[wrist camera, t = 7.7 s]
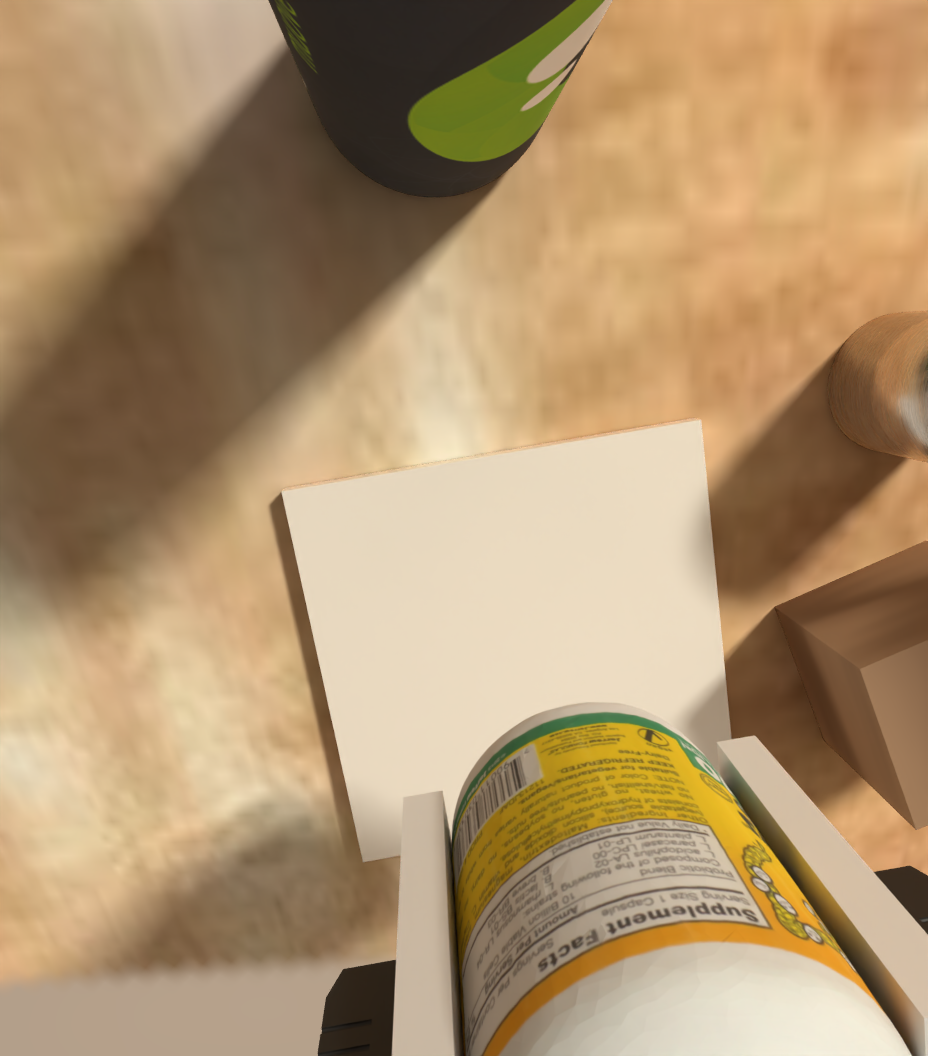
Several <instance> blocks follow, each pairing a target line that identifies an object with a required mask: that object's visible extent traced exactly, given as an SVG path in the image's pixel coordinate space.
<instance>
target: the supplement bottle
mask: <svg viewBox="0 0 928 1056" xmlns="http://www.w3.org/2000/svg"><path fill="white" fill-rule="evenodd" d="M452 867H453V877H454V894H455V912H456V927H457V944H458V958H459V974H460V999H461V1016H462V1030H463V1051H464V1056H912V1055H911V1053H910V1051H909V1050H908V1048H907V1046H906V1044H905V1043H904V1041H903V1039H902V1037H901V1036H900V1034H899V1033H898V1031H897V1030H896V1028H895V1027H894V1025H893V1024H892V1022H891V1021H890V1019H889V1018H888V1016H887V1015H886V1014H885V1012H884V1011H883V1009H882V1008H881V1006H880V1005H879V1004H878V1002H877V1001H876V999H875V998H874V996H873V995H872V993H871V992H870V990H869V989H868V987H867V986H866V984H865V983H864V981H863V980H862V978H861V977H860V975H859V974H858V973H857V971H856V970H855V968H854V967H853V965H852V964H851V962H850V961H849V960H848V958H847V957H846V955H845V954H844V952H843V951H842V949H841V948H840V947H839V945H838V944H837V942H836V941H835V939H834V938H833V936H832V935H831V933H830V932H829V931H828V929H827V928H826V926H825V925H824V924H823V922H822V921H821V919H820V918H819V917H818V915H817V914H816V912H815V911H814V909H813V908H812V906H811V905H810V904H809V902H808V901H807V899H806V898H805V896H804V895H803V893H802V892H801V891H800V889H799V888H798V886H797V885H796V884H795V882H794V881H793V879H792V878H791V877H790V875H789V874H788V872H787V871H786V870H785V868H784V867H783V865H782V864H781V863H780V861H779V860H778V859H777V857H776V855H775V854H774V852H773V851H772V849H771V848H770V847H769V845H768V844H767V843H766V841H765V839H764V838H763V836H762V835H761V833H760V832H759V831H758V829H757V828H756V827H755V825H754V824H753V823H752V821H751V820H750V818H749V816H748V815H747V814H746V813H745V811H744V809H743V808H742V806H741V805H740V803H739V801H738V800H737V798H736V797H735V796H734V795H733V793H732V792H731V790H730V789H729V787H728V786H727V785H726V783H725V782H724V780H723V779H722V777H721V776H720V774H719V773H718V772H717V771H716V770H715V768H714V767H713V766H712V764H711V763H710V762H709V760H708V759H707V758H706V756H705V755H704V754H703V753H702V752H701V751H700V750H699V749H698V748H697V747H696V746H695V745H694V744H693V743H692V742H691V741H690V740H689V739H688V738H687V737H686V736H684V735H683V734H682V733H681V732H680V731H679V730H677V729H676V728H675V727H673V726H672V725H670V724H669V723H668V722H666V721H664V720H663V719H661V718H659V717H657V716H655V715H653V714H651V713H649V712H647V711H645V710H642V709H639V708H636V707H633V706H629V705H625V704H620V703H604V702H586V703H578V704H571V705H566V706H562V707H558V708H554V709H550V710H547V711H543V712H541V713H538V714H535V715H533V716H531V717H529V718H527V719H525V720H524V721H522V722H521V723H519V724H517V725H516V726H514V727H513V728H512V729H510V730H509V731H507V732H506V733H505V734H503V735H502V736H501V737H500V738H498V739H497V740H496V741H495V742H494V743H493V744H492V745H491V746H490V747H489V748H488V749H487V750H486V751H485V752H484V754H483V755H482V756H481V757H480V758H479V760H478V761H477V762H476V764H475V765H474V767H473V768H472V770H471V771H470V773H469V775H468V777H467V778H466V780H465V782H464V784H463V786H462V789H461V792H460V794H459V797H458V800H457V804H456V808H455V813H454V818H453V825H452Z"/></svg>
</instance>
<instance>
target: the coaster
mask: <svg viewBox="0 0 928 1056" xmlns="http://www.w3.org/2000/svg"><path fill="white" fill-rule="evenodd" d="M282 497H283V501H284V506H285V510H286V515H287V519H288V524H289V528H290V533H291V537H292V542H293V547H294V551H295V556H296V560H297V565H298V569H299V574H300V578H301V583H302V587H303V592H304V597H305V601H306V606H307V610H308V615H309V619H310V624H311V628H312V633H313V637H314V642H315V647H316V651H317V656H318V660H319V665H320V669H321V674H322V678H323V683H324V687H325V692H326V697H327V701H328V706H329V710H330V715H331V719H332V724H333V728H334V733H335V737H336V742H337V746H338V751H339V756H340V760H341V765H342V769H343V774H344V778H345V783H346V787H347V792H348V796H349V801H350V806H351V810H352V815H353V819H354V824H355V828H356V833H357V837H358V842H359V846H360V851H361V856H362V860H363V862H368V861H373V860H379V859H384V858H390V857H395V856H401V840H402V817H403V797H408V796H413V795H419V794H425V793H430V792H436V791H443V797H444V802H445V807H446V813H447V818H448V823H449V828H450V834H451V839H452V825H453V818H454V813H455V808H456V804H457V800H458V797H459V794H460V792H461V789H462V786H463V784H464V782H465V780H466V778H467V777H468V775H469V773H470V771H471V770H472V768H473V767H474V765H475V764H476V762H477V761H478V760H479V758H480V757H481V756H482V755H483V754H484V752H485V751H486V750H487V749H488V748H489V747H490V746H491V745H492V744H493V743H494V742H495V741H496V740H497V739H498V738H500V737H501V736H502V735H503V734H505V733H506V732H507V731H509V730H510V729H512V728H513V727H514V726H516V725H517V724H519V723H521V722H522V721H524V720H525V719H527V718H529V717H531V716H533V715H535V714H538V713H541V712H543V711H547V710H550V709H554V708H558V707H562V706H566V705H571V704H578V703H586V702H604V703H620V704H625V705H629V706H633V707H636V708H639V709H642V710H645V711H647V712H649V713H651V714H653V715H655V716H657V717H659V718H661V719H663V720H664V721H666V722H668V723H669V724H670V725H672V726H673V727H675V728H676V729H677V730H679V731H680V732H681V733H682V734H683V735H684V736H686V737H687V738H688V739H689V740H690V741H691V742H692V743H693V744H694V745H695V746H696V747H697V748H698V749H699V750H700V751H701V752H702V753H703V754H704V755H705V756H706V758H707V759H708V760H709V762H710V763H711V764H712V766H713V767H714V768H715V770H716V771H717V772H718V773H719V774H720V772H719V762H718V753H717V743H716V742H720V741H726V740H731V739H732V738H731V728H730V717H729V707H728V696H727V686H726V675H725V665H724V654H723V644H722V633H721V623H720V612H719V602H718V591H717V581H716V570H715V560H714V549H713V539H712V528H711V518H710V507H709V497H708V486H707V476H706V465H705V455H704V444H703V434H702V423H701V420H700V419H696V418H691V419H685V420H679V421H673V422H667V423H661V424H656V425H650V426H644V427H638V428H632V429H626V430H620V431H615V432H609V433H603V434H597V435H591V436H585V437H580V438H574V439H568V440H562V441H556V442H550V443H545V444H539V445H533V446H527V447H521V448H515V449H509V450H504V451H498V452H492V453H486V454H480V455H474V456H469V457H463V458H457V459H451V460H445V461H439V462H434V463H428V464H422V465H416V466H410V467H404V468H398V469H393V470H387V471H381V472H375V473H369V474H363V475H358V476H352V477H346V478H340V479H334V480H328V481H323V482H317V483H311V484H305V485H299V486H293V487H287V488H284V489H283V490H282Z"/></svg>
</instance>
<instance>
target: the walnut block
mask: <svg viewBox="0 0 928 1056" xmlns="http://www.w3.org/2000/svg"><path fill="white" fill-rule="evenodd" d="M775 609H776V612H777V615H778V617H779V620H780V623H781V625H782V628H783V631H784V633H785V636H786V639H787V642H788V644H789V647H790V650H791V652H792V655H793V658H794V660H795V663H796V666H797V669H798V671H799V674H800V677H801V679H802V682H803V685H804V687H805V690H806V693H807V696H808V698H809V701H810V704H811V706H812V709H813V712H814V714H815V717H816V720H817V723H818V725H819V728H820V731H821V733H822V736H823V739H824V741H825V742H826V743H827V744H828V745H829V746H830V747H831V748H832V749H833V750H834V751H835V752H836V753H838V754H839V755H840V756H841V757H842V758H843V759H844V760H845V761H846V762H847V763H848V764H849V765H850V766H851V767H852V768H853V769H854V770H855V771H856V772H857V773H858V774H859V775H860V776H861V777H862V778H863V779H864V780H865V781H866V782H867V783H868V784H869V785H870V786H871V787H872V788H874V789H875V790H876V791H877V792H878V793H879V794H880V795H881V796H882V797H883V798H884V799H885V800H886V801H887V802H888V803H889V804H890V805H891V806H892V807H893V808H894V809H895V810H896V811H897V812H898V813H899V814H900V815H901V816H902V817H903V818H904V819H905V820H906V821H907V822H908V823H910V824H911V825H912V826H913V827H914V828H915V829H916V830H918V829H920V828H922V827H925V826H927V825H928V541H924V542H922V543H920V544H917V545H915V546H913V547H911V548H908V549H906V550H904V551H901V552H899V553H897V554H894V555H892V556H890V557H888V558H885V559H883V560H881V561H878V562H876V563H874V564H872V565H869V566H867V567H865V568H862V569H860V570H858V571H856V572H853V573H851V574H849V575H846V576H844V577H842V578H839V579H837V580H835V581H833V582H830V583H828V584H826V585H823V586H821V587H819V588H817V589H814V590H812V591H810V592H807V593H805V594H803V595H801V596H798V597H796V598H794V599H791V600H789V601H787V602H785V603H782V604H780V605H778V606H775Z"/></svg>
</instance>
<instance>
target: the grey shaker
mask: <svg viewBox="0 0 928 1056" xmlns="http://www.w3.org/2000/svg"><path fill="white" fill-rule="evenodd" d="M828 399H829V405H830V409H831V413H832V415H833V417H834V420H835V421H836V423H837V425H838V427H839V428H840V429H841V430H842V432H843V433H844V434H845V435H846V436H847V437H848V438H849V439H851V440H852V441H854V442H855V443H856V444H858V445H860V446H862V447H865V448H868V449H871V450H875V451H879V452H884V453H888V454H892V455H897V456H901V457H905V458H910V459H914V460H919V461H923V462H927V463H928V311H915V312H901V313H892V314H887V315H883V316H881V317H878V318H875V319H873V320H871V321H870V322H868V323H866V324H865V325H863V326H862V327H860V328H859V329H858V330H857V331H855V332H854V333H853V334H852V335H851V336H850V337H849V338H848V340H847V341H846V342H845V343H844V345H843V346H842V347H841V349H840V350H839V352H838V354H837V356H836V358H835V360H834V363H833V365H832V368H831V372H830V376H829V382H828Z"/></svg>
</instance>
